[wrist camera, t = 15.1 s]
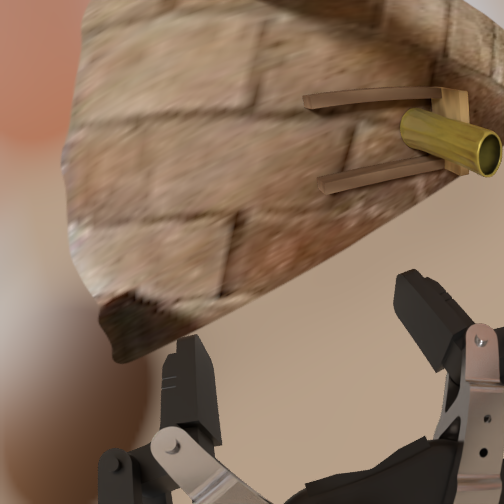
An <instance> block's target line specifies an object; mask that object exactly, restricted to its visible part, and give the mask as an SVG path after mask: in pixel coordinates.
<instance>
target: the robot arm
mask: <svg viewBox="0 0 504 504" xmlns="http://www.w3.org/2000/svg"><path fill="white" fill-rule="evenodd" d="M393 305H394V310H395V313H396V315H397V316H398V318H399V319H400V321H401V322H402V323H403V325H404V326H405V328H406V329H407V330H408V332H409V333H410V335H411V336H412V338H413V339H414V341H415V342H416V343H417V345H418V346H419V348H420V349H421V351H422V352H423V354H424V355H425V357H426V358H427V360H428V361H429V363H430V364H431V366H432V367H433V369H434V370H435V372H436V373H437V372H439V371H440V370H442V369H444V368H445V369H446V371H447V375H446V381H445V390H444V398H443V405H442V412H441V416H440V420H439V422H438V425H437V427H436V430H435V434H434V437H433V440H428V441H427V439H426V437H425V436H424V437H422V438H420V439H418V440H416V441H414V442H412V443H410V444H408V445H406V446H404V447H402V448H400V449H398V450H397V451H396V452H394V453H393V454H392V455H390V456H389V457H388V458H386V459H385V460H384V461H382V462H381V463H380V464H378V465H377V466H376V467H374V468H372V469H370V470H365V471H358V472H350V473H342V474H336V475H333V476H329V477H326V478H323V479H320V480H316V481H313V482H309V483H306V484H305V486H306V488H305V489H303V490H301V491H299V492H298V493H297V494H295V495H293V496H292V497H291V498H290V499H288V500H287V501H286V502H285V503H284V504H504V459H503V452H504V327H501V328H497V329H492V328H491V327H490V326H488V325H486V324H482V323H478V324H475V323H474V322H473V321H472V319H471V318H470V317H469V316H468V315H467V314H466V313H465V311H464V310H463V309H462V308H461V307H460V306H459V305H458V304H457V302H456V301H455V300H454V299H452V297H451V296H450V295H449V294H448V293H446V290H445V289H444V288H443V287H442V286H441V285H440V284H439V283H438V282H436V281H434V280H432V279H430V278H429V277H426V278H424V277H423V276H422V275H421V274H420V273H419V272H418V271H417V270H416V269H412V270H409V271H407V272H404V273H401V274H398V275H397V278H396V285H395V294H394V302H393ZM162 379H163V380H162V391H161V424H160V430H159V431H158V432H157V433H156V434H155V436H154V437H153V439H152V441H151V442H150V443H149V444H147V445H145V446H143V447H140V448H137V449H135V450H132V451H130V452H125V451H124V450H122V449H119V448H113V449H109V450H107V451H106V452H104V453H103V454H102V456H101V457H100V460H99V463H98V504H173V503H172V496H171V491H173V490H175V489H178V488H182V489H183V491H184V492H185V493H186V494H187V495H188V496H189V497H190V498H191V499H192V501H193V502H192V503H193V504H273V503H272V502H270V501H269V500H267V499H266V498H265V497H263V496H262V495H261V494H259V493H258V492H256V491H255V490H254V489H252V488H251V487H250V486H248V485H247V484H246V483H244V482H243V481H242V480H241V479H240V478H238V477H237V476H236V475H235V474H233V473H232V472H231V471H230V470H229V469H228V468H226V467H225V466H224V465H223V464H222V463H221V462H220V461H218V460H217V459H216V458H215V453H214V446H220V445H222V440H221V431H220V422H219V414H218V405H217V395H216V386H215V376H214V368H213V364H212V361H211V359H210V357H209V355H208V353H207V351H206V349H205V347H204V346H203V344H202V342H201V340H200V338H199V336H198V335H197V334H195V335H191V336H187V337H182V338H178V339H177V350H176V353H174V354H169V355H168V356H167V358H166V360H165V363H164V365H163V369H162Z"/></svg>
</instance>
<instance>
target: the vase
mask: <svg viewBox="0 0 504 504" xmlns="http://www.w3.org/2000/svg"><path fill="white" fill-rule="evenodd" d="M400 131H401V136H402V139H403V141H404V142H405V143H406V145H407V146H409V147H410V148H413V149H418V150H422V151H425V152H427V153H429V154H432V155H435V156H437V157H440V158H442V159H445V160H447V161H450V162H452V163H455V164H457V165H460V166H462V167H464V168H467V169H469V170H471V171H473V172H475V173H477V174H479V175H481V176H483V177H491V176H493V175H494V174H495V173H496V171H497V170H498V168H499V166H500V163H501V160H502V143H501V140H500V138H499V136H498V135H497V134H496V133H495V132H493V131H491V130H488V129H485V128H482V127H479V126H475V125H472V124H469V123H465V122H462V121H459V120H454V119H450V118H446V117H443V116H441V115H438V114H435V113H432V112H429V111H426V110H423V109H421V108H411V109H409V110H408V111H407V112H406V113H405V114H404V115H403V117H402V120H401V124H400Z"/></svg>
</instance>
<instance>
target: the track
mask: <svg viewBox="0 0 504 504" xmlns="http://www.w3.org/2000/svg"><path fill="white" fill-rule="evenodd" d="M428 98H431V103H432V113H435V114H438V115H441V116H443V117H446V118H450V119H454V120H459V121H462V122H465V123H469V104H468V91H463V90H457V89H451V88H444V87H382V88H366V89H354V90H344V91H334V92H326V93H318V94H311V95H305V96H303V101H304V106H305V108H309V109H316V108H322V107H329V106H337V105H344V104H353V103H362V102H373V101H385V100H400V99H428ZM444 168H445V169H447V170H449V171H451V172H453V173H455V174H457V175H459V176H463V175H467V174H469V169H467V168H464V167H462V166H460V165H457V164H455V163H452V162H450V161H447V160H445V159H442V158H440V157H437V156H435V155H427V156H421V157H415V158H409V159H404V160H398V161H393V162H388V163H383V164H378V165H373V166H368V167H363V168H358V169H353V170H348V171H344V172H339V173H335V174H330V175H326V176H321V177H317V183H318V189H319V190H321V191H322V192H323V193H324V194H325V195H328V194H332V193H336V192H340V191H344V190H348V189H353V188H357V187H361V186H365V185H370V184H374V183H379V182H383V181H387V180H392V179H396V178H401V177H406V176H410V175H415V174H420V173H424V172H429V171H434V170H439V169H444Z"/></svg>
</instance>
